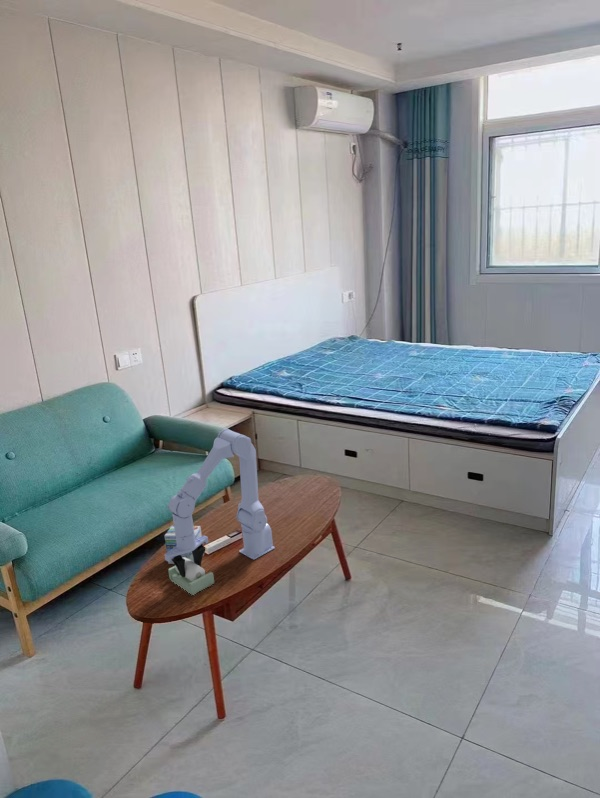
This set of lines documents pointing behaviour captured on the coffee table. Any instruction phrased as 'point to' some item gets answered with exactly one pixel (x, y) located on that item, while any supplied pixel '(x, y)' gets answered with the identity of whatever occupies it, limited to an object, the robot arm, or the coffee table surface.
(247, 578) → the coffee table surface
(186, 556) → the light bulb box
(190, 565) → the roll
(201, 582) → the holder
